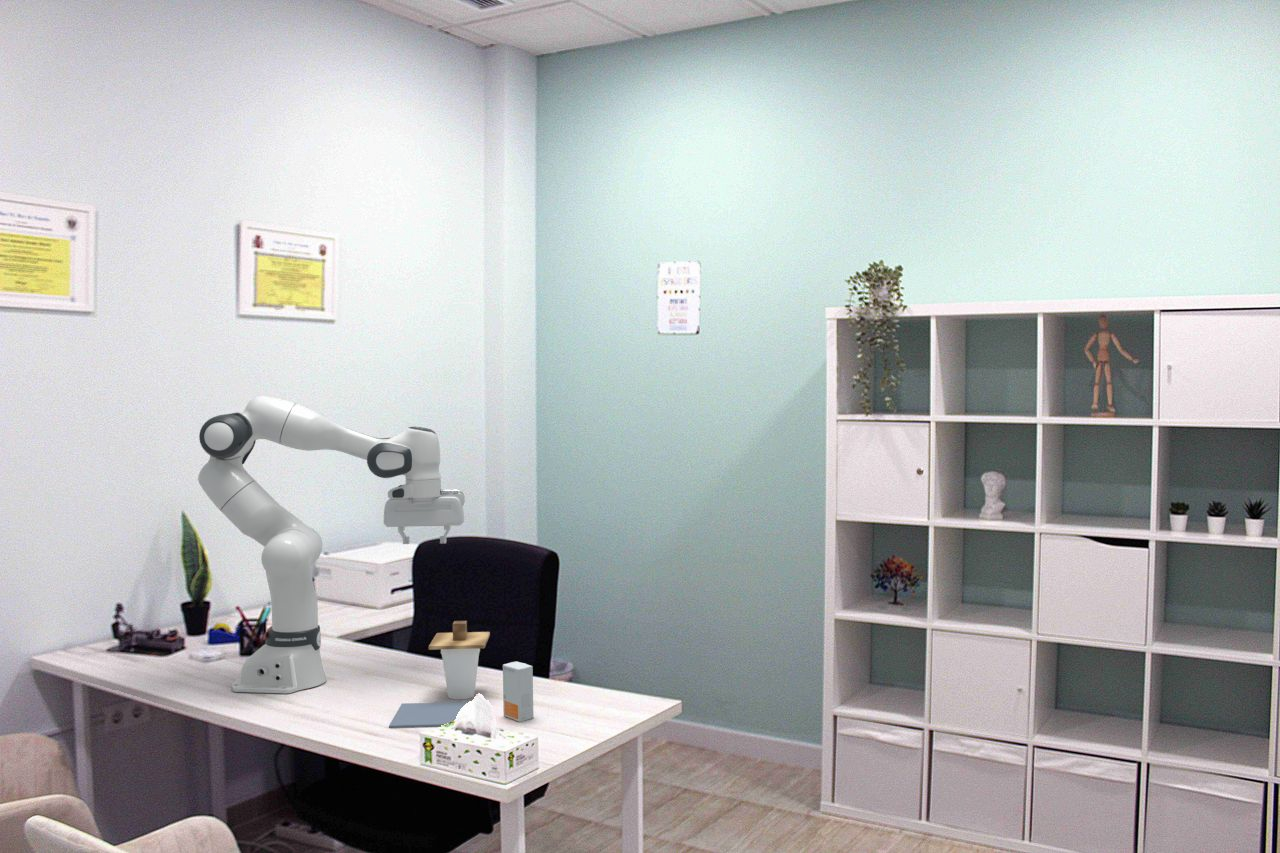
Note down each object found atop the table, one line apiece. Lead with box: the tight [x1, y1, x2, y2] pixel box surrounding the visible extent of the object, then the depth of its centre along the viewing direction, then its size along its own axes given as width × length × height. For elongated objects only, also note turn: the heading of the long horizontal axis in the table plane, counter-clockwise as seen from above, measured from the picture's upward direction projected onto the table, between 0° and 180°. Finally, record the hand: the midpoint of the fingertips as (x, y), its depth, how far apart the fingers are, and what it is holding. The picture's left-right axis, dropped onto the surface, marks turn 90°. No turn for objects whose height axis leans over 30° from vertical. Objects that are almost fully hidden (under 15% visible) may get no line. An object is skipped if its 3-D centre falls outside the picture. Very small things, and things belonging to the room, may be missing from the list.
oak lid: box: [428, 620, 491, 651], centre depth 258 cm, size 13×13×5 cm
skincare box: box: [502, 661, 534, 723], centre depth 241 cm, size 6×4×12 cm
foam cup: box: [440, 649, 481, 700], centre depth 259 cm, size 10×9×13 cm
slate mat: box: [388, 701, 469, 729], centre depth 244 cm, size 18×16×1 cm
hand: (424, 543), depth 276 cm, fingers open, 8 cm apart
